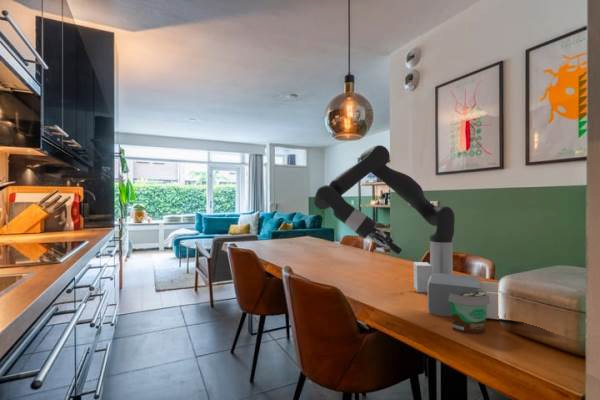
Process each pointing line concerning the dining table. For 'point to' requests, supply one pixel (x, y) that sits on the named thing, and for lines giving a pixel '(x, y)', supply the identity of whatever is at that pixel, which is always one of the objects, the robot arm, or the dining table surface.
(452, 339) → the dining table surface
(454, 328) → the food container
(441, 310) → the sleeve
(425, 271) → the small box
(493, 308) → the white cuboid
